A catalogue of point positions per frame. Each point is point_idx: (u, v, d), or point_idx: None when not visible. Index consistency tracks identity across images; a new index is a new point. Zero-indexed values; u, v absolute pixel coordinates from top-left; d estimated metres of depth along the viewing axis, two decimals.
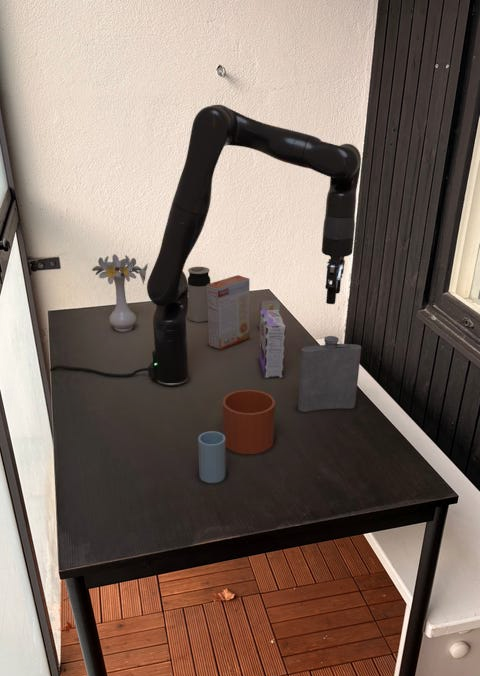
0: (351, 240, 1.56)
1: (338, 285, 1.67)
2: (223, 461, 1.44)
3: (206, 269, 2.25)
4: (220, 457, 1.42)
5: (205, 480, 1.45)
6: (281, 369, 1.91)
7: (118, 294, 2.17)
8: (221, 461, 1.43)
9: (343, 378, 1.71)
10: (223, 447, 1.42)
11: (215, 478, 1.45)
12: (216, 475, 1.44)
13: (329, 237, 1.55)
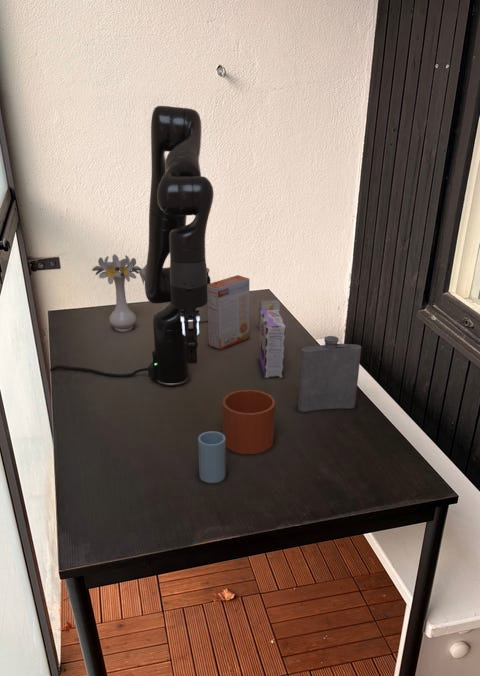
0: (206, 287, 1.30)
1: (193, 338, 1.41)
2: (223, 461, 1.44)
3: None
4: (220, 457, 1.42)
5: (205, 480, 1.45)
6: (281, 369, 1.91)
7: (118, 294, 2.17)
8: (221, 461, 1.43)
9: (343, 378, 1.71)
10: (223, 447, 1.42)
11: (215, 478, 1.45)
12: (216, 475, 1.44)
13: (180, 287, 1.28)
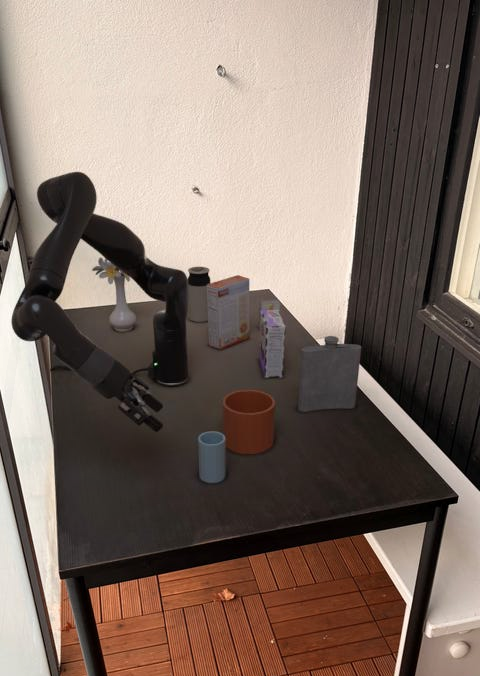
0: (116, 366, 1.30)
1: (155, 401, 1.41)
2: (223, 461, 1.44)
3: (206, 269, 2.25)
4: (220, 457, 1.42)
5: (205, 480, 1.45)
6: (281, 369, 1.91)
7: (118, 294, 2.17)
8: (221, 461, 1.43)
9: (343, 378, 1.71)
10: (223, 447, 1.42)
11: (215, 478, 1.45)
12: (216, 475, 1.44)
13: (95, 384, 1.30)
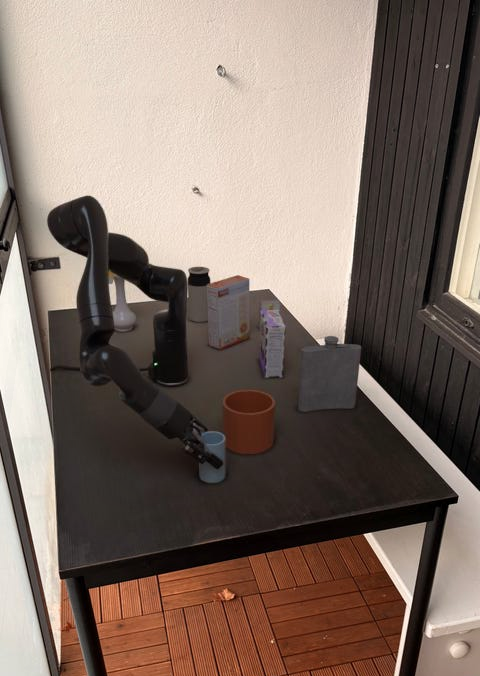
0: (178, 408, 1.36)
1: None
2: (223, 461, 1.44)
3: (206, 269, 2.25)
4: (220, 457, 1.42)
5: (205, 480, 1.45)
6: (281, 369, 1.91)
7: (118, 294, 2.17)
8: None
9: (343, 378, 1.71)
10: (223, 447, 1.42)
11: (215, 478, 1.45)
12: (216, 475, 1.44)
13: (158, 426, 1.36)
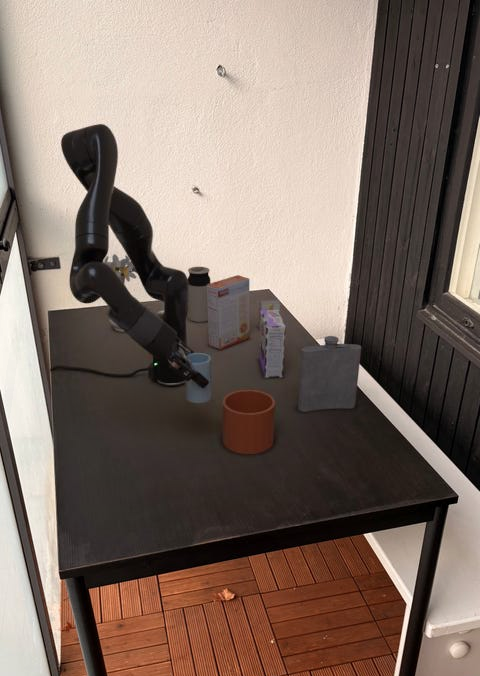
0: (164, 326, 1.41)
1: None
2: (209, 381, 1.48)
3: (206, 269, 2.25)
4: (206, 376, 1.47)
5: (191, 400, 1.50)
6: (281, 369, 1.91)
7: None
8: None
9: (343, 378, 1.71)
10: (208, 366, 1.47)
11: (201, 398, 1.49)
12: (202, 394, 1.49)
13: (145, 343, 1.41)
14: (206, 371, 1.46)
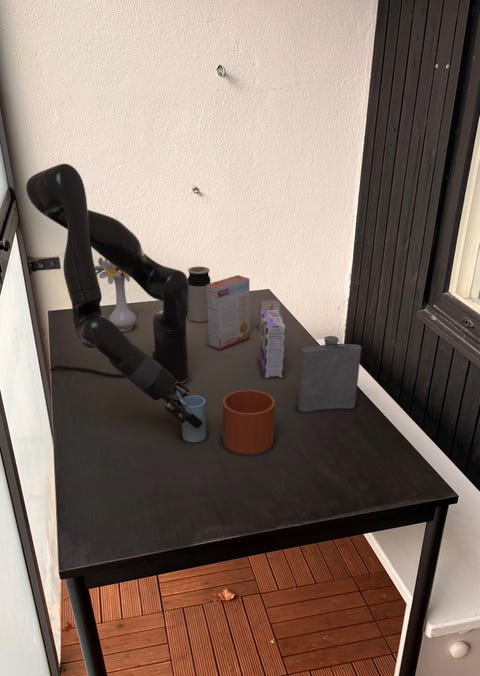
0: (162, 372, 1.51)
1: None
2: (203, 422, 1.59)
3: (206, 269, 2.25)
4: (201, 418, 1.57)
5: (187, 440, 1.60)
6: (281, 369, 1.91)
7: (118, 294, 2.17)
8: (202, 422, 1.58)
9: (343, 378, 1.71)
10: (203, 409, 1.57)
11: (197, 438, 1.59)
12: (197, 434, 1.59)
13: (145, 388, 1.51)
14: (201, 413, 1.57)
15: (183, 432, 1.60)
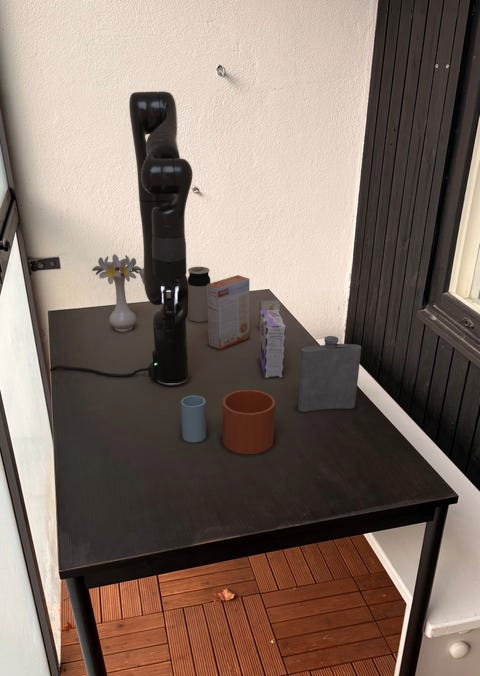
0: (184, 260, 1.43)
1: (174, 306, 1.54)
2: (203, 422, 1.59)
3: (206, 269, 2.25)
4: (201, 418, 1.57)
5: (187, 440, 1.60)
6: (281, 369, 1.91)
7: (118, 294, 2.17)
8: (202, 422, 1.58)
9: (343, 378, 1.71)
10: (203, 409, 1.57)
11: (197, 438, 1.59)
12: (197, 434, 1.59)
13: (160, 259, 1.41)
14: (201, 413, 1.57)
15: (183, 432, 1.60)
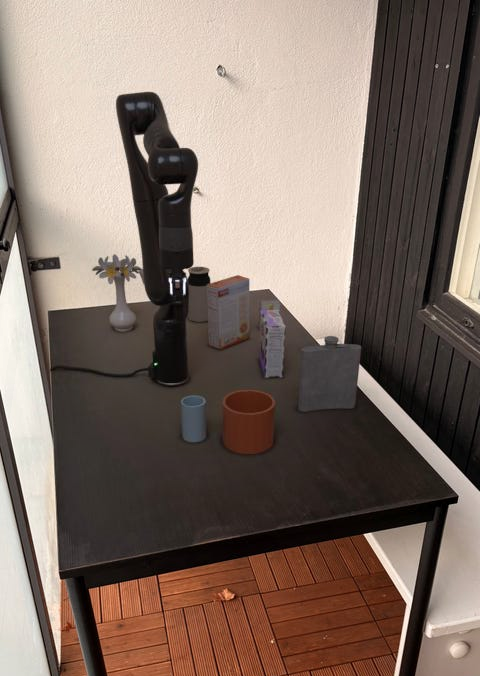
0: (191, 250, 1.43)
1: (181, 299, 1.54)
2: (203, 422, 1.59)
3: (206, 269, 2.25)
4: (201, 418, 1.57)
5: (187, 440, 1.60)
6: (281, 369, 1.91)
7: (118, 294, 2.17)
8: (202, 422, 1.58)
9: (343, 378, 1.71)
10: (203, 409, 1.57)
11: (197, 438, 1.59)
12: (197, 434, 1.59)
13: (168, 249, 1.41)
14: (201, 413, 1.57)
15: (183, 432, 1.60)
